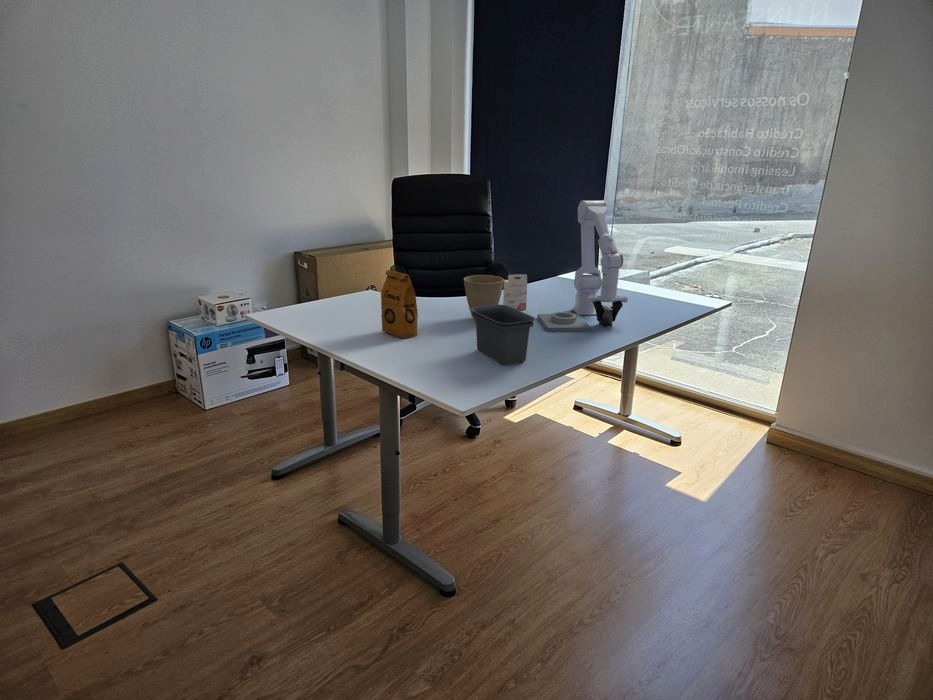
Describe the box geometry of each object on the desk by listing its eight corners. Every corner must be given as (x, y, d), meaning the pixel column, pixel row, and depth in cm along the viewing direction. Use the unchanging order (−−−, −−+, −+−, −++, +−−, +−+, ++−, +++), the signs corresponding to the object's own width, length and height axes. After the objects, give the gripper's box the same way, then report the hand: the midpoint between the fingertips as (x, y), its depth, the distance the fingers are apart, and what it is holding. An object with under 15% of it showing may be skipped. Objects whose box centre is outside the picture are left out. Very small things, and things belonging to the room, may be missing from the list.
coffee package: (399, 341, 203) (398, 277, 195) (378, 332, 211) (376, 271, 204) (422, 335, 209) (422, 273, 202) (400, 327, 218) (399, 267, 210)
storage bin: (465, 349, 197) (466, 306, 192) (505, 342, 204) (507, 302, 199) (500, 370, 179) (502, 324, 175) (542, 362, 187) (545, 318, 182)
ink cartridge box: (521, 306, 249) (523, 271, 244) (526, 309, 244) (528, 274, 239) (502, 307, 247) (503, 272, 242) (506, 310, 242) (508, 275, 237)
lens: (596, 322, 229) (598, 305, 227) (609, 322, 229) (611, 305, 227) (600, 326, 224) (602, 308, 222) (614, 326, 225) (616, 308, 222)
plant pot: (499, 314, 237) (501, 274, 231) (504, 325, 223) (506, 283, 217) (461, 314, 235) (462, 274, 230) (464, 325, 221) (465, 283, 216)
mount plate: (537, 317, 234) (538, 308, 233) (577, 317, 235) (578, 308, 234) (547, 331, 217) (548, 322, 216) (590, 331, 218) (591, 322, 217)
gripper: (593, 287, 217) (590, 323, 222) (632, 287, 219) (628, 323, 223) (587, 283, 224) (584, 318, 228) (625, 283, 225) (621, 318, 230)
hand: (605, 320), depth 226 cm, fingers closed on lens, 5 cm apart
